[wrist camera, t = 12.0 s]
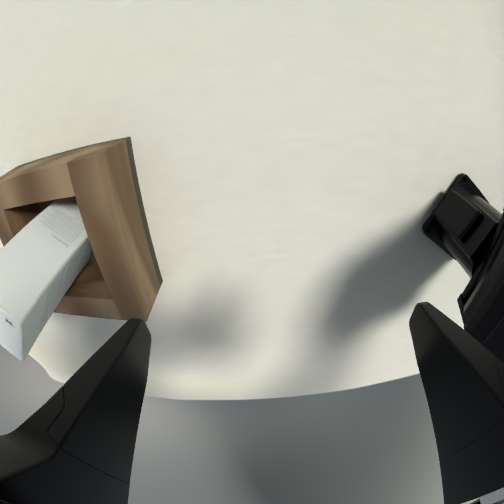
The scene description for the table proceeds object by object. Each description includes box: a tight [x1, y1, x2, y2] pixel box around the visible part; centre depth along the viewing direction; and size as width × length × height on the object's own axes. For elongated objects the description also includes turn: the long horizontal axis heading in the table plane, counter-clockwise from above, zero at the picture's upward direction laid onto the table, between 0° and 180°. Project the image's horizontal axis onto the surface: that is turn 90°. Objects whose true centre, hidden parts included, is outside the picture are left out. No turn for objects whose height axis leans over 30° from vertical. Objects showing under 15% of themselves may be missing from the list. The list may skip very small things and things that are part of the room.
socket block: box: [0, 137, 163, 322], centre depth 19 cm, size 13×13×5 cm
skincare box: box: [0, 196, 93, 362], centre depth 16 cm, size 6×4×12 cm
